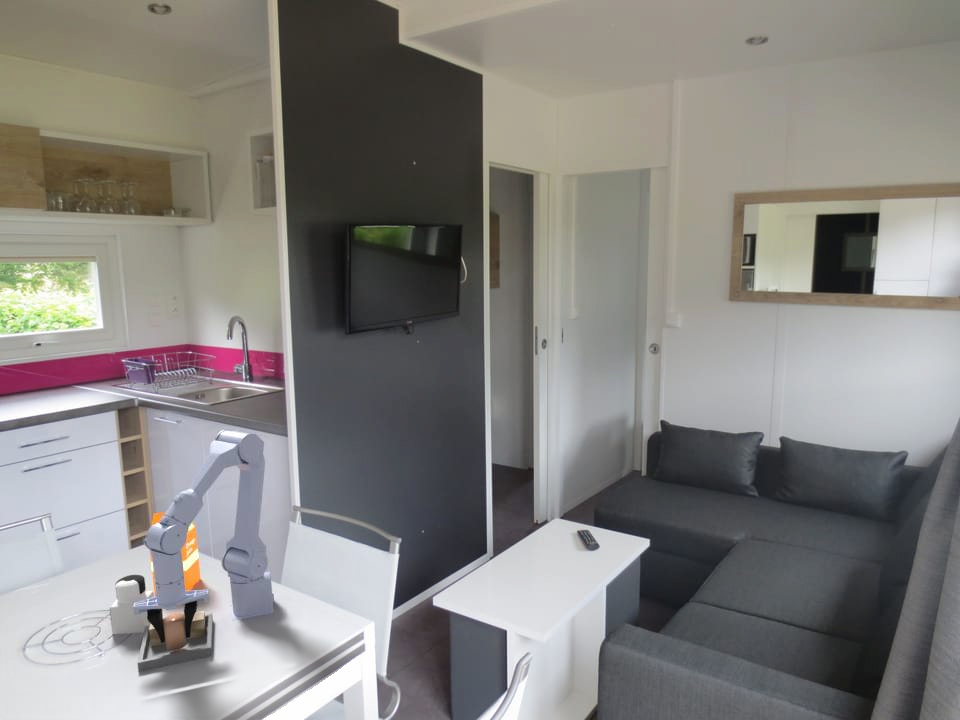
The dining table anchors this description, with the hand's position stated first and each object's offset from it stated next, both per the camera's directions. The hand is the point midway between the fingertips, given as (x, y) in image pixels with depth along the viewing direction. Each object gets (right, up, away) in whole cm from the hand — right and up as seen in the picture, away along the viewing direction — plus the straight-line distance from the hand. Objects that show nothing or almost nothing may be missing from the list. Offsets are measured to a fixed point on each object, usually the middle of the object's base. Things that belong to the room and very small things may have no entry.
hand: (175, 637), depth 146 cm
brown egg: (0, -1, 0) cm, 2 cm away
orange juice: (-13, +1, +31) cm, 34 cm away
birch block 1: (-5, -2, +5) cm, 8 cm away
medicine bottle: (-15, -3, +12) cm, 19 cm away
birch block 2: (+1, -2, +7) cm, 8 cm away
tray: (-1, -3, +3) cm, 4 cm away
